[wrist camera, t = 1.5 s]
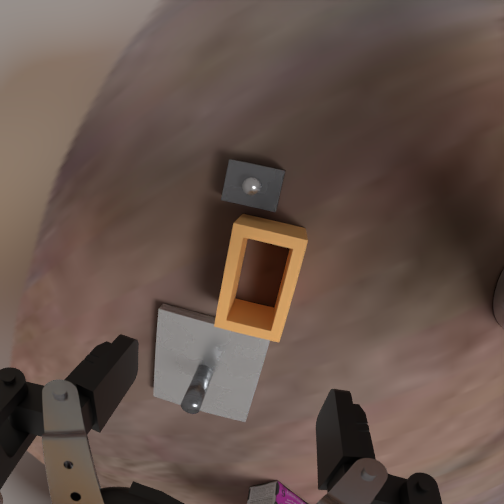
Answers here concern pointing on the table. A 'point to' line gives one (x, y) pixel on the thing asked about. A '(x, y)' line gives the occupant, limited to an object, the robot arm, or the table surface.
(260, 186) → the grey knob block
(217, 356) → the plate
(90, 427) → the robot arm
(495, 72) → the table surface
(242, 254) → the orange link
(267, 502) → the candy bar box
